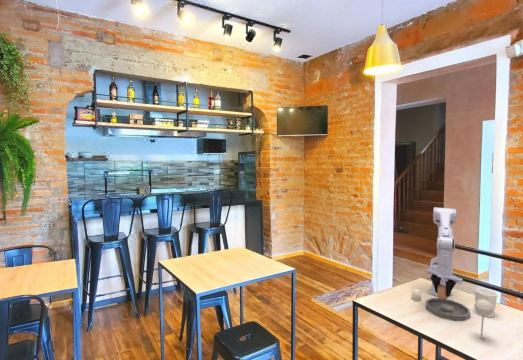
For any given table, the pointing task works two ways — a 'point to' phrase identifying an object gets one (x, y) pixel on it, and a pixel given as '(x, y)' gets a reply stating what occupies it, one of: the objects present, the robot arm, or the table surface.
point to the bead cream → (416, 294)
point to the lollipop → (483, 309)
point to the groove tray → (448, 309)
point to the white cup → (486, 298)
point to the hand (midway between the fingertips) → (442, 294)
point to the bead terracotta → (441, 292)
